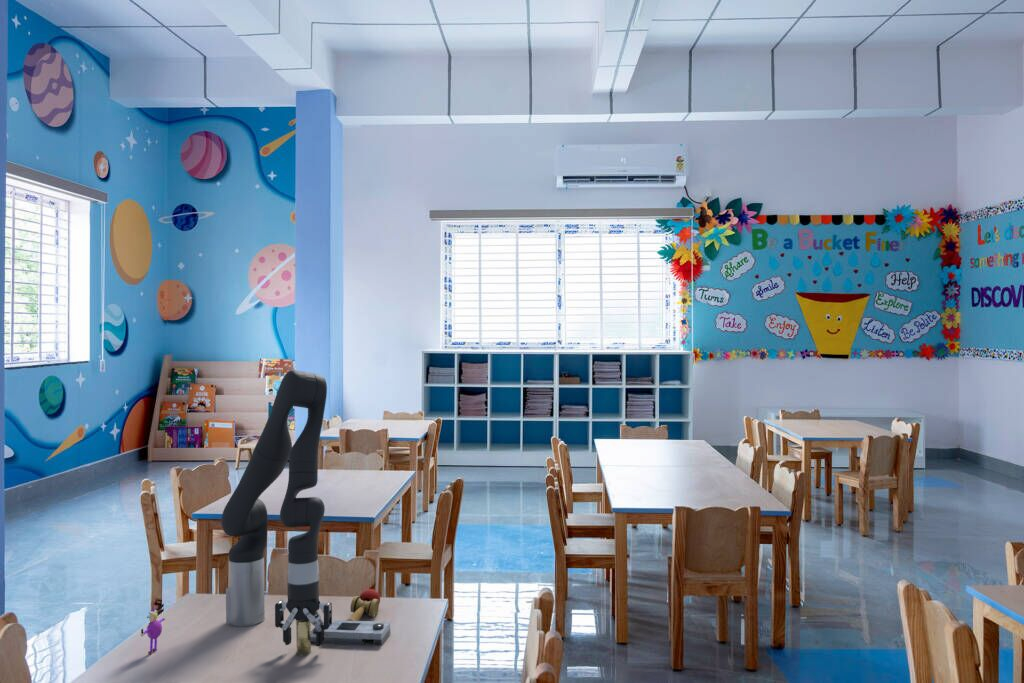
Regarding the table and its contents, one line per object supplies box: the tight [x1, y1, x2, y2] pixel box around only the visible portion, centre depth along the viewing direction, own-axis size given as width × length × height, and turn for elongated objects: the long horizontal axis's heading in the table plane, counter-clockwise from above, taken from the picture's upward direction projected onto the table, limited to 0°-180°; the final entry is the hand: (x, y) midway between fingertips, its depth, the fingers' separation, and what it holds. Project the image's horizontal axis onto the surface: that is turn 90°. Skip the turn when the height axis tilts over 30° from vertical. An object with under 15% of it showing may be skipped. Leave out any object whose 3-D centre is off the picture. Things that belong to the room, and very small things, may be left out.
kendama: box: [347, 588, 381, 621], centre depth 213 cm, size 8×6×18 cm
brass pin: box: [295, 620, 312, 656], centre depth 190 cm, size 3×3×8 cm
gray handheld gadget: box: [311, 619, 391, 646], centre depth 199 cm, size 20×8×4 cm, turn 83°
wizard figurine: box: [140, 603, 166, 655], centre depth 190 cm, size 11×3×12 cm, turn 177°
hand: (303, 644), depth 190 cm, fingers open, 7 cm apart
